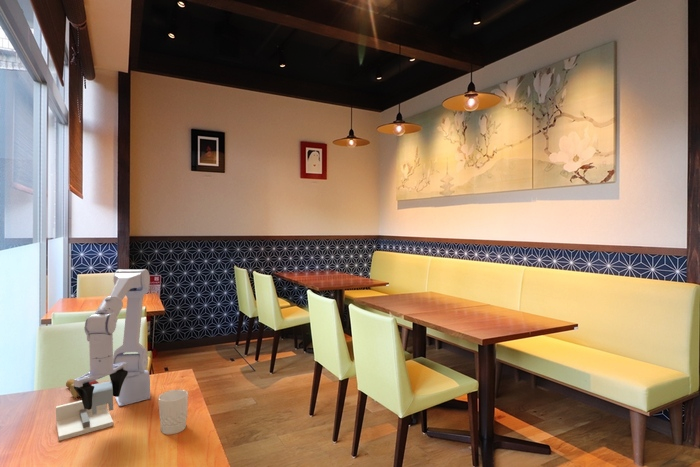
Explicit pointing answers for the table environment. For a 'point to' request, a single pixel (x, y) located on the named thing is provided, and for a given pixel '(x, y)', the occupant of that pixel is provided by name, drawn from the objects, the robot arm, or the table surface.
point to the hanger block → (102, 395)
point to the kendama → (71, 385)
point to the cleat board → (80, 419)
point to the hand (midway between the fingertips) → (102, 402)
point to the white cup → (173, 411)
